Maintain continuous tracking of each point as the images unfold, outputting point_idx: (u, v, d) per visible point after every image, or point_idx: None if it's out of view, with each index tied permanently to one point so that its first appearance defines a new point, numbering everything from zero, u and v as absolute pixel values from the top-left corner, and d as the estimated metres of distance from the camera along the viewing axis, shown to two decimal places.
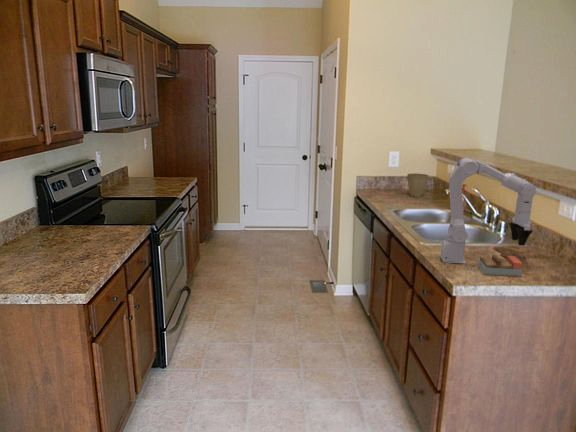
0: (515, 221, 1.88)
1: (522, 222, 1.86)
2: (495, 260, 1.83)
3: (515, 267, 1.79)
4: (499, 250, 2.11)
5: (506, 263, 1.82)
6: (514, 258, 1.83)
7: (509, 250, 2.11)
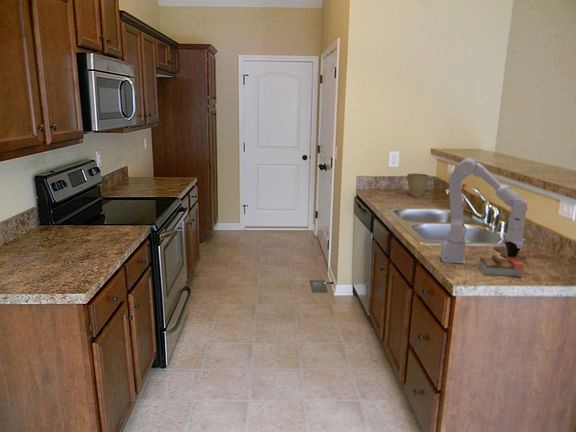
0: (508, 238, 1.84)
1: (515, 240, 1.82)
2: (495, 260, 1.83)
3: (516, 268, 1.77)
4: (499, 250, 2.11)
5: (506, 263, 1.82)
6: (515, 259, 1.82)
7: None
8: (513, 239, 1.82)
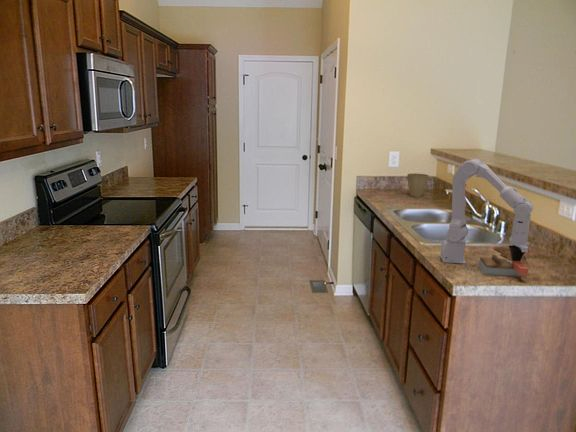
0: (512, 242, 1.79)
1: (519, 243, 1.77)
2: (495, 260, 1.83)
3: (521, 273, 1.73)
4: (499, 250, 2.11)
5: (506, 263, 1.82)
6: (520, 263, 1.78)
7: (509, 250, 2.11)
8: (517, 243, 1.77)
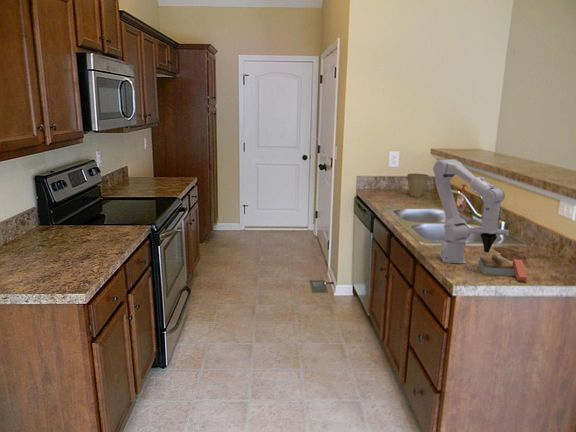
0: None
1: (481, 228, 1.81)
2: (495, 260, 1.83)
3: (519, 280, 1.74)
4: (499, 250, 2.11)
5: (506, 263, 1.82)
6: (521, 265, 1.77)
7: (509, 250, 2.11)
8: None
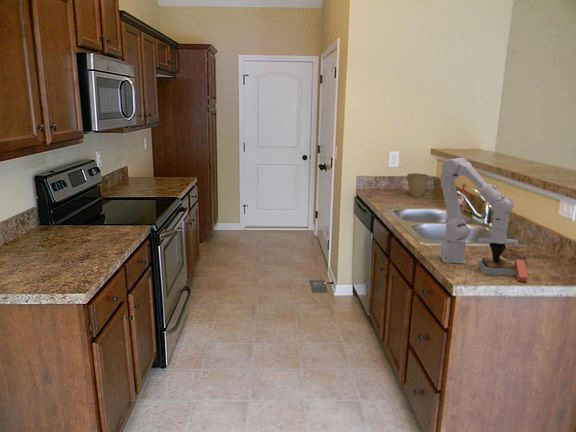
0: None
1: (490, 238, 1.82)
2: None
3: (520, 280, 1.74)
4: None
5: (508, 263, 1.82)
6: (522, 266, 1.76)
7: (509, 250, 2.11)
8: (490, 237, 1.82)
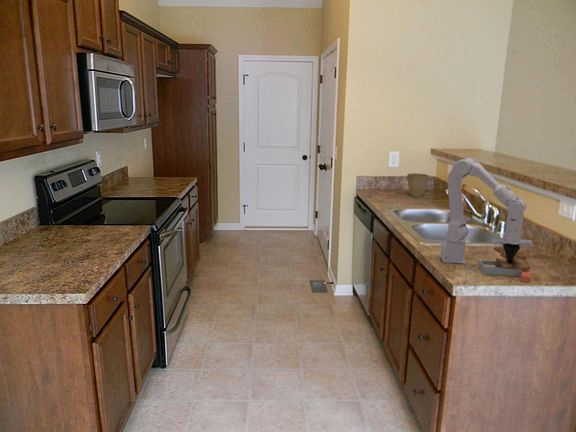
0: None
1: (504, 238, 1.81)
2: None
3: (522, 280, 1.74)
4: (499, 250, 2.11)
5: (523, 264, 1.81)
6: (527, 272, 1.78)
7: None
8: (504, 238, 1.82)
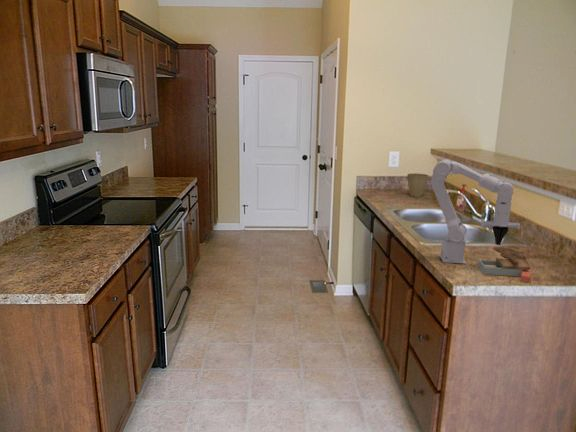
0: None
1: (493, 221, 1.86)
2: (511, 261, 1.82)
3: (522, 280, 1.74)
4: (499, 250, 2.11)
5: (523, 264, 1.81)
6: (527, 272, 1.78)
7: (509, 250, 2.11)
8: (493, 220, 1.87)
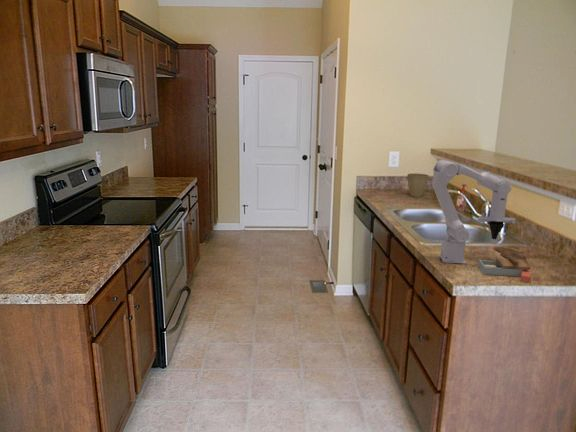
0: None
1: (489, 216, 1.94)
2: (511, 261, 1.82)
3: (522, 280, 1.74)
4: (499, 250, 2.11)
5: (523, 264, 1.81)
6: (527, 272, 1.78)
7: (509, 250, 2.11)
8: (489, 216, 1.95)
